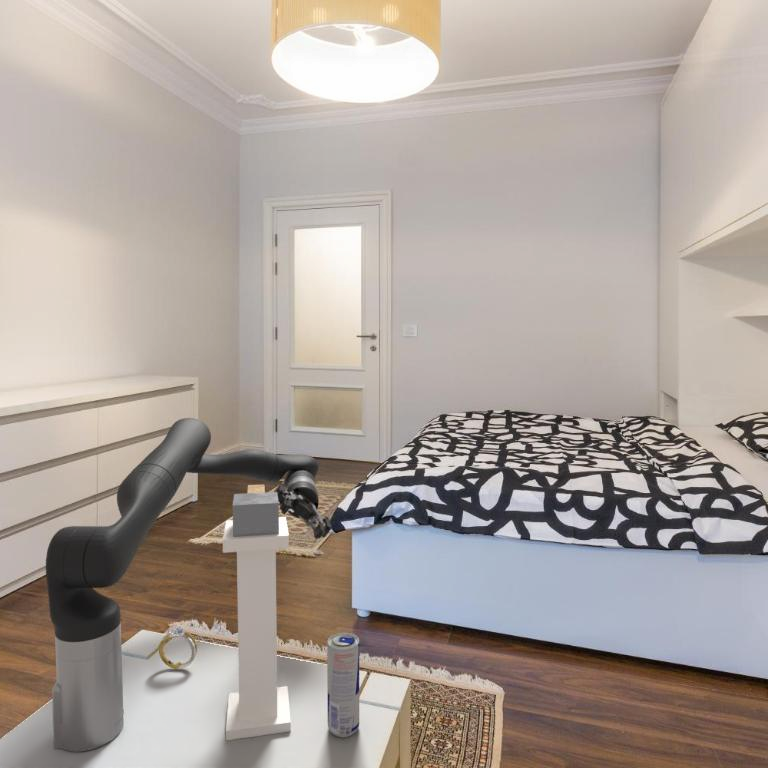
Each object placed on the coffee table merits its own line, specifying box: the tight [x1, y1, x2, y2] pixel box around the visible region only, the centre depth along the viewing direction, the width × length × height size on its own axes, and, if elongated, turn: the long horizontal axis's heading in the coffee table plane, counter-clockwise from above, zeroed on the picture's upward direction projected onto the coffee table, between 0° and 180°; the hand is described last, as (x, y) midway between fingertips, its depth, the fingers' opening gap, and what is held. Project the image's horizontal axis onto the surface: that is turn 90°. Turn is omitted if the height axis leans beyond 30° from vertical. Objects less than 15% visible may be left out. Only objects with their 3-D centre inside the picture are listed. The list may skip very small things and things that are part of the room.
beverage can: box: [326, 632, 360, 738], centre depth 91 cm, size 5×5×15 cm
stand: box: [222, 516, 292, 741], centre depth 94 cm, size 10×10×32 cm
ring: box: [158, 626, 198, 670], centre depth 109 cm, size 7×3×8 cm, turn 83°
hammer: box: [232, 484, 280, 537], centre depth 98 cm, size 7×18×5 cm, turn 12°
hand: (302, 522), depth 116 cm, fingers open, 8 cm apart
